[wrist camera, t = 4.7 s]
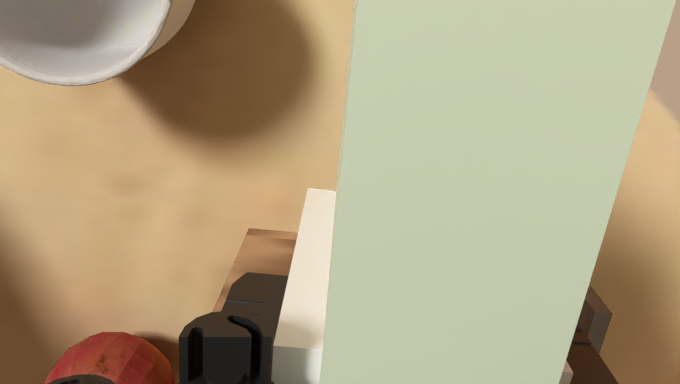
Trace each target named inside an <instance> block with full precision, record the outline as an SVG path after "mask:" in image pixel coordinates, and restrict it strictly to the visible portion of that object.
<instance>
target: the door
mask: <svg viewBox="0 0 680 384" xmlns="http://www.w3.org/2000/svg"><path fill="white" fill-rule="evenodd" d="M675 2H676V0H354V10H353V20H352V31H351V41H350V51H349V62H348V72H347V83H346V93H345V103H344V114H343V124H342V134H341V145H340V155H339V165H338V176H337V186H336V198H335V210H334V221H333V233H332V245H331V257H330V268H329V280H328V292H327V303H326V315H325V327H324V338H323V350H322V360H321V370H320V381H319V384H559V381H560V378H561V375H562V372H563V368H564V365H565V362H566V358H567V355H568V352H569V349H570V345H571V342H572V339H573V336H574V332H575V329H576V326H577V322H578V319H579V316H580V313H581V309H582V306H583V303H584V300H585V296H586V293H587V290H588V286H589V283H590V280H591V277H592V273H593V270H594V267H595V264H596V260H597V257H598V254H599V250H600V247H601V244H602V241H603V237H604V234H605V231H606V228H607V224H608V221H609V218H610V214H611V211H612V208H613V205H614V201H615V198H616V195H617V191H618V188H619V185H620V182H621V178H622V175H623V172H624V169H625V165H626V162H627V159H628V155H629V152H630V149H631V146H632V142H633V139H634V136H635V133H636V129H637V126H638V123H639V119H640V116H641V113H642V110H643V106H644V103H645V100H646V97H647V93H648V90H649V87H650V83H651V80H652V77H653V73H654V70H655V67H656V64H657V60H658V57H659V54H660V51H661V47H662V44H663V41H664V38H665V34H666V31H667V28H668V24H669V21H670V18H671V15H672V11H673V8H674V5H675Z"/></svg>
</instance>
